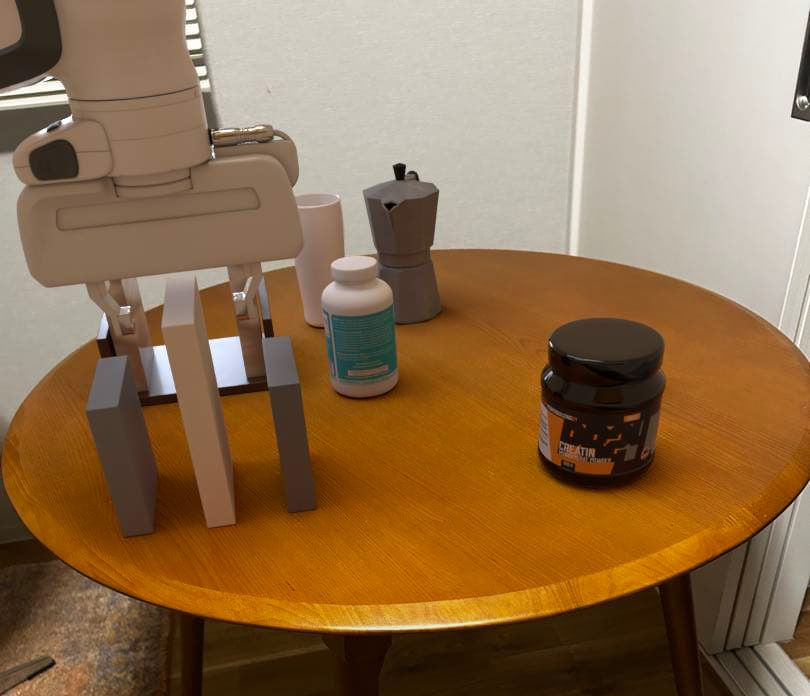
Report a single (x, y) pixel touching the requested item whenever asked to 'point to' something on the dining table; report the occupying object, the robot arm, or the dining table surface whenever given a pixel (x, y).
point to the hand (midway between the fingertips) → (187, 325)
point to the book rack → (231, 356)
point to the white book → (199, 398)
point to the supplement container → (601, 401)
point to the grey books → (132, 452)
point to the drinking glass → (318, 249)
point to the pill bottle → (360, 329)
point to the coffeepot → (405, 242)
